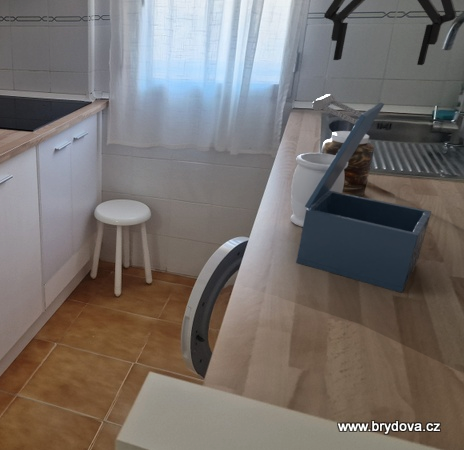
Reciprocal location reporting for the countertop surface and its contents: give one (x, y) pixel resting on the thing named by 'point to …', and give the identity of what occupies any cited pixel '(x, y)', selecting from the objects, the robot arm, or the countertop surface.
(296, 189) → the jar
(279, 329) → the countertop surface
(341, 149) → the lid
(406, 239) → the blue lidded box
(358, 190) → the jar
